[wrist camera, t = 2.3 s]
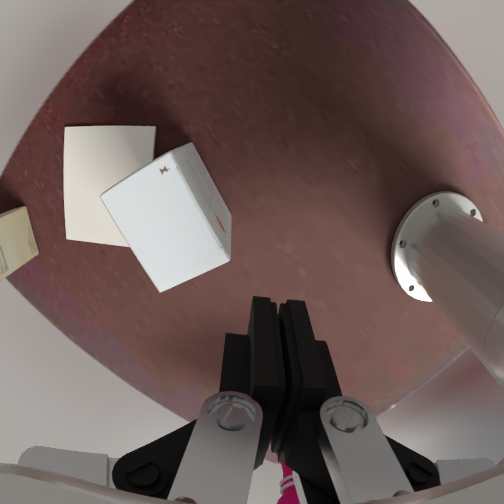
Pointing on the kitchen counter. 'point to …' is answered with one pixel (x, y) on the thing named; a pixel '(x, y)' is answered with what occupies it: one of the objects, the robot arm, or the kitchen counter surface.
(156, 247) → the small box
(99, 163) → the mat
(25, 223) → the skincare box
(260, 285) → the kitchen counter surface
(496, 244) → the robot arm
